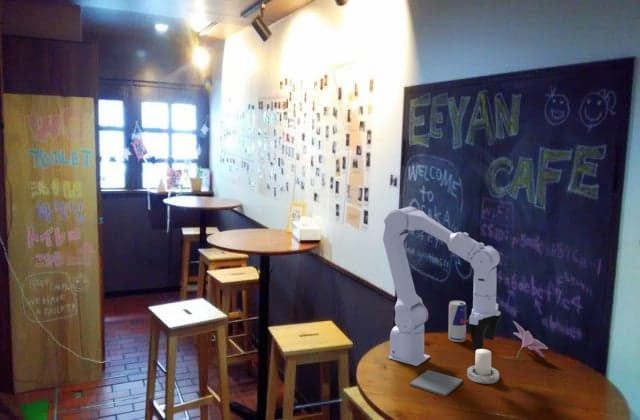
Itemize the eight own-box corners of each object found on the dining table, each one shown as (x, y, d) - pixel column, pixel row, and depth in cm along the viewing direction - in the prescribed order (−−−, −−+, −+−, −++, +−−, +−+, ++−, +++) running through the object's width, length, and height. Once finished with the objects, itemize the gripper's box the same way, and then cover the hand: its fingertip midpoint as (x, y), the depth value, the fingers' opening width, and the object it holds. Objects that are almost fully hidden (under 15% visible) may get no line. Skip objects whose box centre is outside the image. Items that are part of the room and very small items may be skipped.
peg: (472, 377, 139) (473, 352, 138) (478, 372, 142) (479, 347, 141) (487, 381, 137) (487, 356, 136) (493, 376, 140) (493, 351, 139)
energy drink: (466, 343, 163) (467, 305, 162) (448, 342, 164) (449, 305, 163) (465, 336, 168) (465, 300, 167) (448, 335, 169) (448, 299, 168)
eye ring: (462, 378, 139) (462, 372, 139) (474, 368, 145) (474, 362, 145) (491, 386, 134) (491, 380, 134) (503, 375, 140) (503, 370, 140)
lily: (547, 371, 145) (559, 338, 146) (507, 353, 146) (519, 321, 148) (533, 366, 156) (544, 336, 158) (495, 349, 158) (506, 320, 159)
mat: (409, 385, 135) (409, 383, 135) (428, 371, 143) (428, 369, 143) (445, 396, 129) (445, 394, 129) (462, 381, 137) (462, 379, 137)
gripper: (488, 302, 129) (487, 355, 130) (509, 289, 140) (508, 338, 141) (461, 298, 133) (461, 349, 135) (484, 285, 144) (483, 333, 146)
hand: (483, 343), depth 138 cm, fingers open, 7 cm apart
